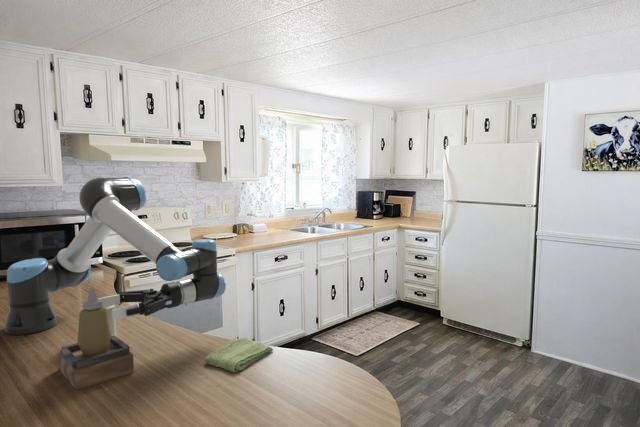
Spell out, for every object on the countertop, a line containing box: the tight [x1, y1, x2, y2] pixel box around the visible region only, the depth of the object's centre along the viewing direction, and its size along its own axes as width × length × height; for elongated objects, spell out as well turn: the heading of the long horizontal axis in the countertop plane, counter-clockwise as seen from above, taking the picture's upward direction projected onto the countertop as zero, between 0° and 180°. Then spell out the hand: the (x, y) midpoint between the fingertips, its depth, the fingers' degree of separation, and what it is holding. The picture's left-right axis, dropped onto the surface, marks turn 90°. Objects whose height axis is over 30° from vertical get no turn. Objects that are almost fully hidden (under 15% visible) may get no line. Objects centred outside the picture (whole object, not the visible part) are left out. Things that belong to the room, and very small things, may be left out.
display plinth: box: [57, 335, 135, 391], centre depth 116 cm, size 16×14×6 cm
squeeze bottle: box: [77, 287, 111, 357], centre depth 115 cm, size 8×8×18 cm
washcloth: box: [204, 337, 274, 373], centre depth 124 cm, size 13×18×3 cm
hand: (103, 309), depth 116 cm, fingers open, 13 cm apart
